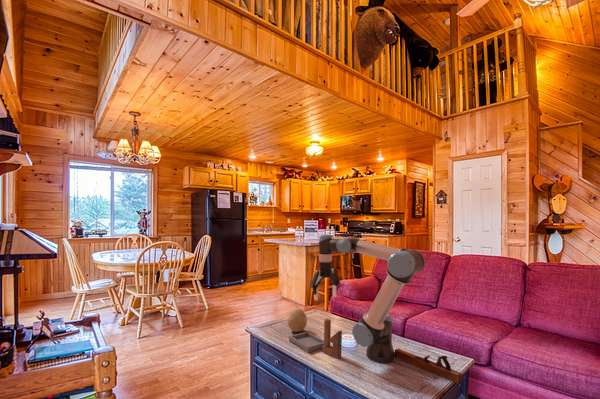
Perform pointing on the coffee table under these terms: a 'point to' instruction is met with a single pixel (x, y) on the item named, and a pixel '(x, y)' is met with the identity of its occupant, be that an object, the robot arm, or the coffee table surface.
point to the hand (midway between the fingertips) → (325, 298)
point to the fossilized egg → (297, 320)
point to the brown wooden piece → (336, 341)
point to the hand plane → (430, 365)
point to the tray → (307, 341)
